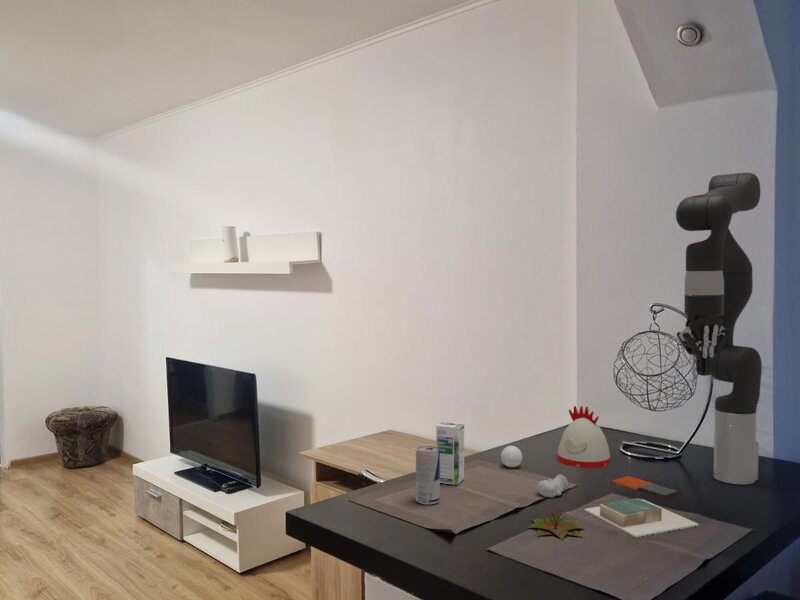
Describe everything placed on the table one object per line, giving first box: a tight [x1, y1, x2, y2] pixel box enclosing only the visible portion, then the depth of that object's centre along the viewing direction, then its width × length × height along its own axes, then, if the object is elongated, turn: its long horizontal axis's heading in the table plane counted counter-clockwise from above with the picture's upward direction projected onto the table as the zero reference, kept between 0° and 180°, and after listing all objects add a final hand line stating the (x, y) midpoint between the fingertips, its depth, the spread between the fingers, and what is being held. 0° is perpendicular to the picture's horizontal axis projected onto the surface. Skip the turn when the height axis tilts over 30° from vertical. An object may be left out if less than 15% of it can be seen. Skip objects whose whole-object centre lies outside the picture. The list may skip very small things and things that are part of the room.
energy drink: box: [415, 445, 441, 504], centre depth 151 cm, size 5×5×12 cm
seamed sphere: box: [495, 445, 523, 469], centre depth 179 cm, size 8×6×6 cm
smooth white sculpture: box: [536, 474, 569, 499], centre depth 156 cm, size 4×8×5 cm
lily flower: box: [526, 506, 586, 540], centre depth 135 cm, size 12×12×5 cm
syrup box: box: [435, 420, 465, 486], centre depth 165 cm, size 6×6×14 cm
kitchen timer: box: [557, 405, 611, 469], centre depth 184 cm, size 14×14×15 cm
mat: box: [583, 499, 700, 539], centre depth 141 cm, size 16×16×1 cm
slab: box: [599, 497, 662, 527], centre depth 140 cm, size 2×7×10 cm
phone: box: [611, 475, 682, 500], centre depth 161 cm, size 6×1×15 cm
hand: (703, 374), depth 141 cm, fingers closed
